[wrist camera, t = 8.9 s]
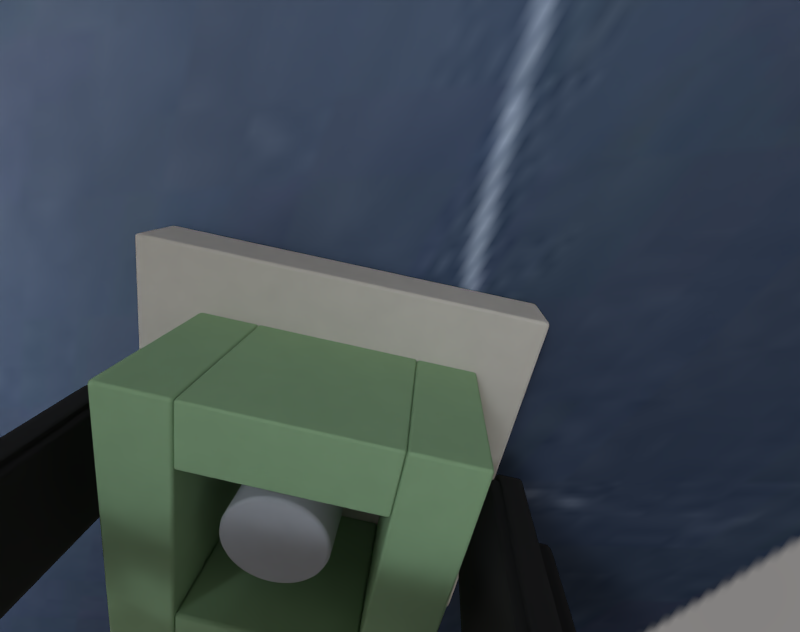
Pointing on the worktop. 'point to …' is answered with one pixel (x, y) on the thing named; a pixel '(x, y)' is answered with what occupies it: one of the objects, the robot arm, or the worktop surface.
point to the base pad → (341, 322)
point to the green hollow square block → (283, 478)
